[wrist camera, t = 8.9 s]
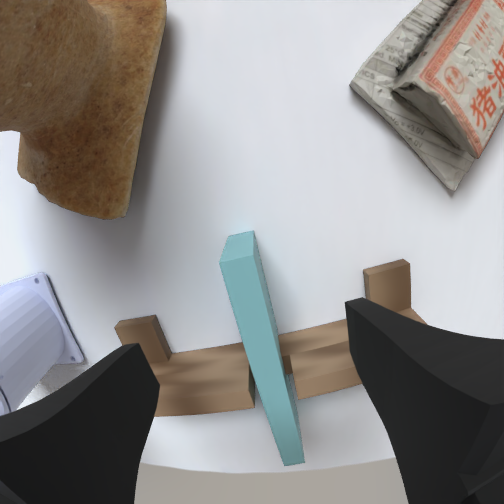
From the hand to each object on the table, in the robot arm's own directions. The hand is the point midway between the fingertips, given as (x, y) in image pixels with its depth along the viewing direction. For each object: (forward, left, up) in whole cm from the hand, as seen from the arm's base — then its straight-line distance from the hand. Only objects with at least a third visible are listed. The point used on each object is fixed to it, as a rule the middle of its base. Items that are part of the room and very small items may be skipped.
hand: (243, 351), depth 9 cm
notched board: (0, -6, -9) cm, 11 cm away
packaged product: (+18, +11, -10) cm, 24 cm away
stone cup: (-8, +14, -9) cm, 19 cm away
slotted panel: (0, -6, -9) cm, 11 cm away
